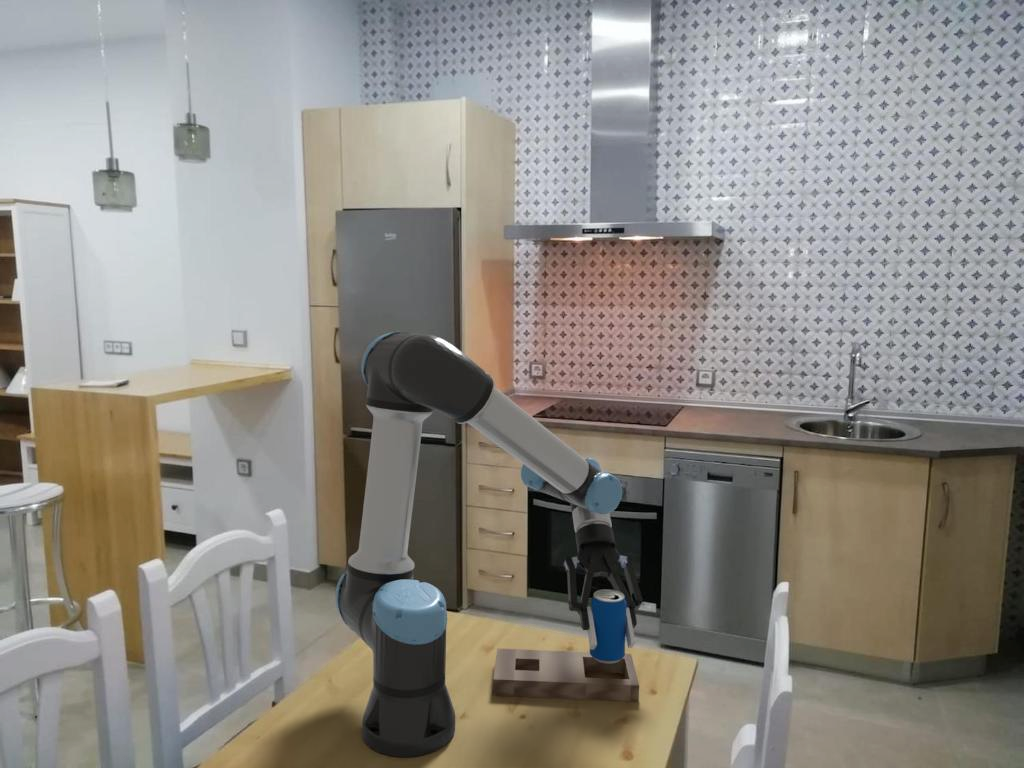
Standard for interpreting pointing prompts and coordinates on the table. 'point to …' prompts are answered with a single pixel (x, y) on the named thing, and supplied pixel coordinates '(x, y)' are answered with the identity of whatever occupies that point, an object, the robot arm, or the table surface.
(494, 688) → the hole board
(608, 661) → the beverage can
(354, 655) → the table surface
